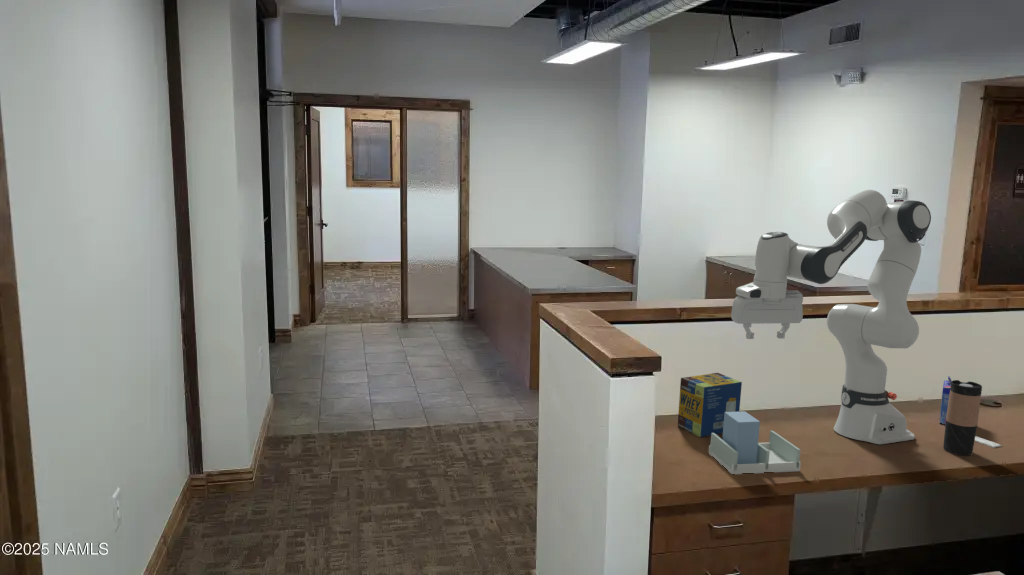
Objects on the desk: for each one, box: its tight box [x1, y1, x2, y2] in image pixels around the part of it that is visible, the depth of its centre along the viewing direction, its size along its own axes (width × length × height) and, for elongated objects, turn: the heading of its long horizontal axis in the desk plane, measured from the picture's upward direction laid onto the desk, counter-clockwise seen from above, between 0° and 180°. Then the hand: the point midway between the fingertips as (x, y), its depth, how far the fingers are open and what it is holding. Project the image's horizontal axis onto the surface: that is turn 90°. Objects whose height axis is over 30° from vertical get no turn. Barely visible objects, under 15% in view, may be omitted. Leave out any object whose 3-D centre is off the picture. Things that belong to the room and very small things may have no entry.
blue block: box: [721, 410, 761, 464], centre depth 192 cm, size 6×8×12 cm
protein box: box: [677, 372, 743, 438], centre depth 218 cm, size 10×15×16 cm
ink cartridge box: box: [939, 375, 953, 425], centre depth 230 cm, size 10×6×14 cm, turn 148°
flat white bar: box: [974, 435, 1003, 449], centre depth 217 cm, size 5×15×1 cm, turn 23°
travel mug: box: [943, 379, 983, 457], centre depth 205 cm, size 8×8×20 cm
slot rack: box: [708, 430, 802, 475], centre depth 194 cm, size 19×14×6 cm
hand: (765, 338), depth 203 cm, fingers open, 8 cm apart
